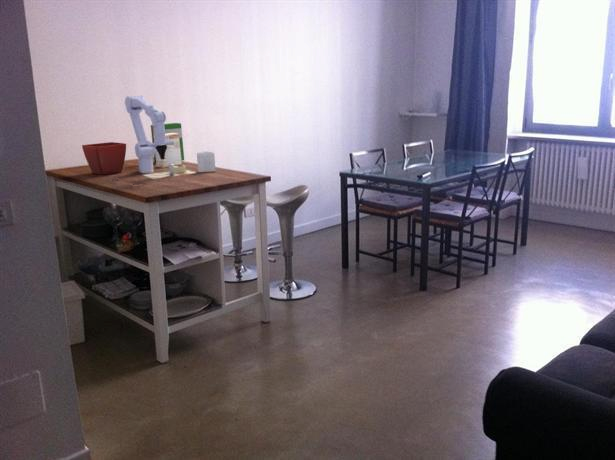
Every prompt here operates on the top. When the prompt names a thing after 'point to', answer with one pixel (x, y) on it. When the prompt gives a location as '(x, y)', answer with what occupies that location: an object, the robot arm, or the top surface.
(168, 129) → the green white carton
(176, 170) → the cream rectangular block
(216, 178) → the top surface
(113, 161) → the plant pot
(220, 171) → the top surface
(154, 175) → the subfloor board
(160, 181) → the top surface
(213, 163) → the white rounded block
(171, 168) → the silver metal cylinder
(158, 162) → the coffeecake box
